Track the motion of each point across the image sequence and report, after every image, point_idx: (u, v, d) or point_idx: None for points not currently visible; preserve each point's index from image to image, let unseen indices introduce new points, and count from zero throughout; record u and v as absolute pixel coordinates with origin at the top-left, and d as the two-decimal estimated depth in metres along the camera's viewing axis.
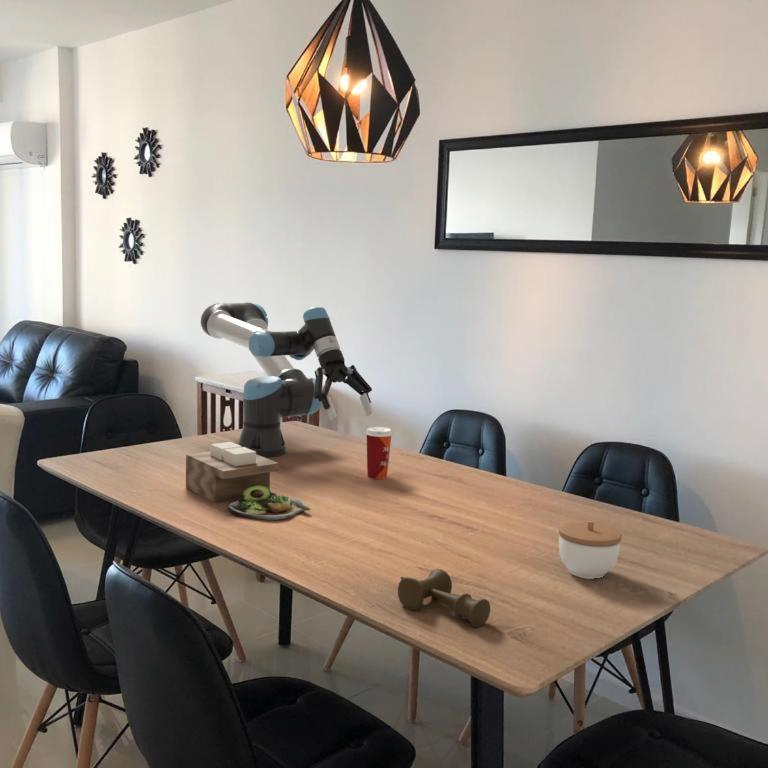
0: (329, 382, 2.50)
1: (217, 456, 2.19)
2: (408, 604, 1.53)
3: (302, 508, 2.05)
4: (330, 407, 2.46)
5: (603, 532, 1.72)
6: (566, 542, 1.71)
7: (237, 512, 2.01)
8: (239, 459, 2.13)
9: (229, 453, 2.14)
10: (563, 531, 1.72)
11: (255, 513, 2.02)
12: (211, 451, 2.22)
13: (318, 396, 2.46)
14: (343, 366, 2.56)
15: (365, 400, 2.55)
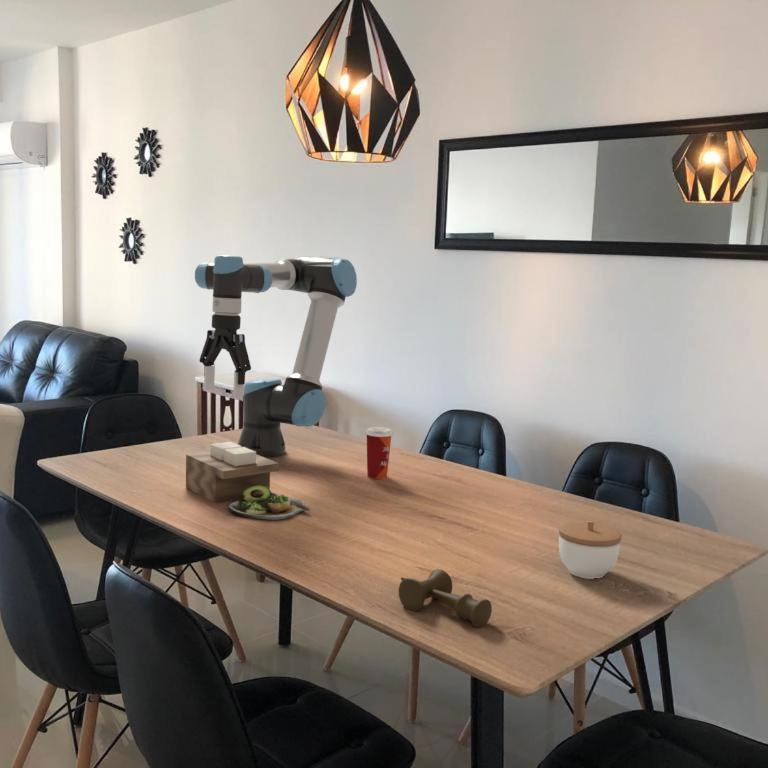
0: (211, 350, 2.27)
1: (217, 456, 2.19)
2: (409, 605, 1.53)
3: (302, 508, 2.05)
4: None
5: (603, 532, 1.72)
6: (566, 542, 1.71)
7: (237, 512, 2.01)
8: (239, 459, 2.13)
9: (229, 453, 2.14)
10: (563, 531, 1.72)
11: (255, 513, 2.02)
12: (211, 451, 2.22)
13: None
14: (228, 334, 2.22)
15: None
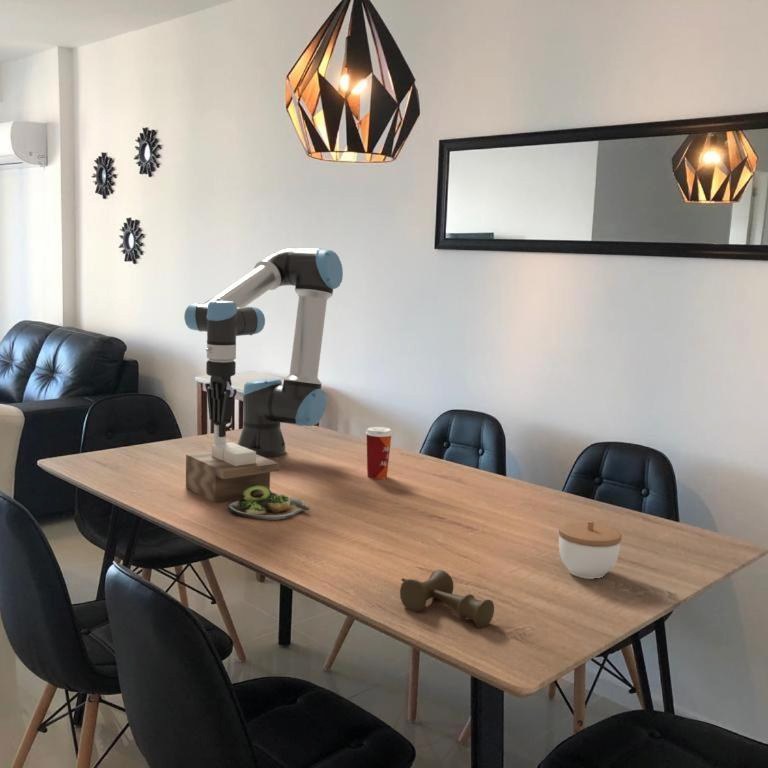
0: (213, 402, 2.22)
1: (219, 456, 2.19)
2: (411, 606, 1.52)
3: (302, 508, 2.05)
4: None
5: (603, 532, 1.72)
6: (566, 542, 1.71)
7: (237, 512, 2.01)
8: (239, 459, 2.13)
9: (229, 453, 2.14)
10: (563, 531, 1.72)
11: (255, 513, 2.02)
12: (212, 452, 2.21)
13: None
14: (222, 380, 2.18)
15: None
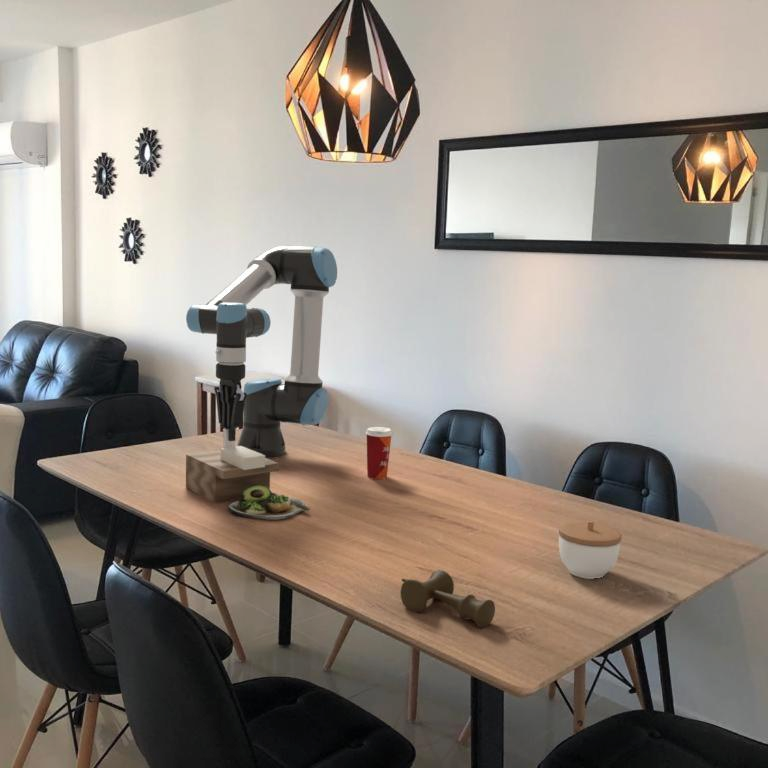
0: (223, 406, 2.19)
1: (228, 460, 2.15)
2: (412, 606, 1.52)
3: (302, 508, 2.05)
4: None
5: (603, 532, 1.72)
6: (566, 542, 1.71)
7: (237, 512, 2.01)
8: (248, 463, 2.10)
9: (238, 457, 2.11)
10: (563, 531, 1.72)
11: (255, 513, 2.02)
12: (221, 455, 2.18)
13: None
14: (232, 384, 2.14)
15: None
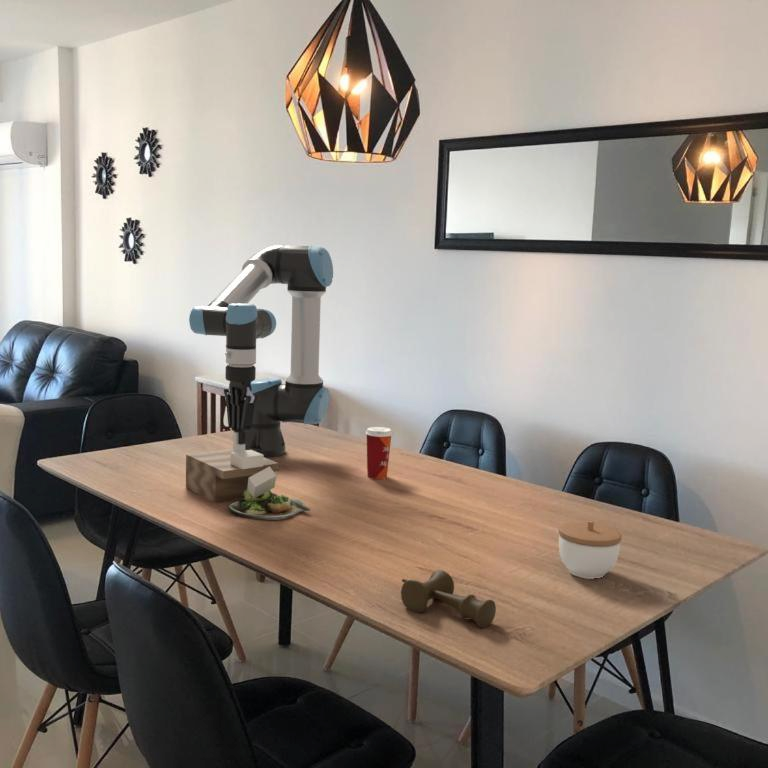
0: (232, 408, 2.15)
1: (238, 465, 2.11)
2: (412, 607, 1.52)
3: (302, 508, 2.05)
4: None
5: (603, 532, 1.72)
6: (566, 542, 1.71)
7: (237, 512, 2.01)
8: None
9: (253, 491, 2.04)
10: (563, 531, 1.72)
11: (255, 513, 2.02)
12: (231, 460, 2.14)
13: None
14: (242, 386, 2.10)
15: None
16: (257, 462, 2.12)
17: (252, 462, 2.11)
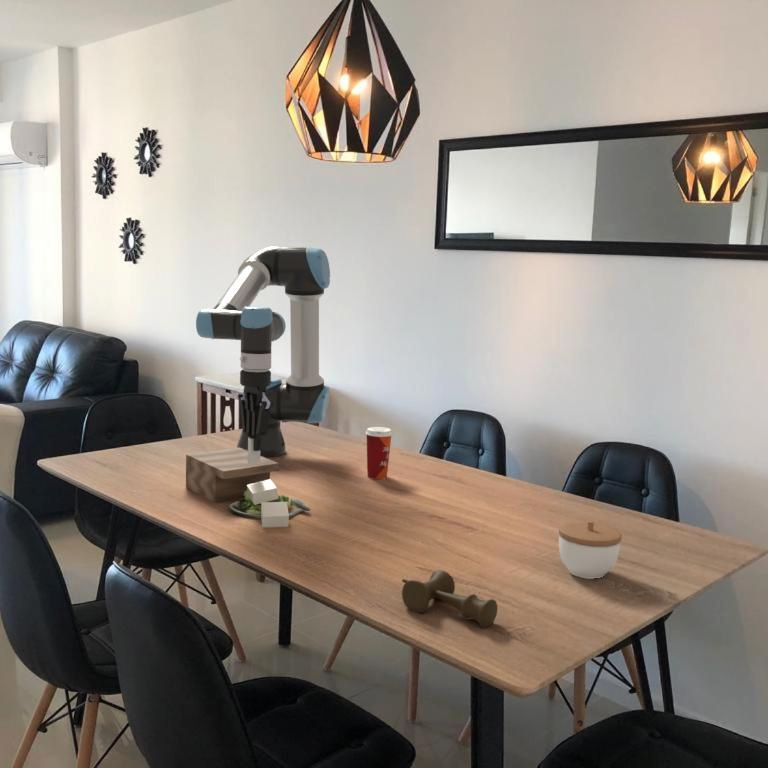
0: (247, 414, 2.10)
1: (248, 489, 2.05)
2: (414, 607, 1.52)
3: (302, 508, 2.06)
4: None
5: (603, 532, 1.72)
6: (566, 542, 1.71)
7: (237, 512, 2.02)
8: (267, 521, 1.94)
9: (261, 510, 1.96)
10: (563, 531, 1.72)
11: (255, 513, 2.03)
12: (252, 497, 2.02)
13: None
14: (258, 391, 2.05)
15: None
16: None
17: None
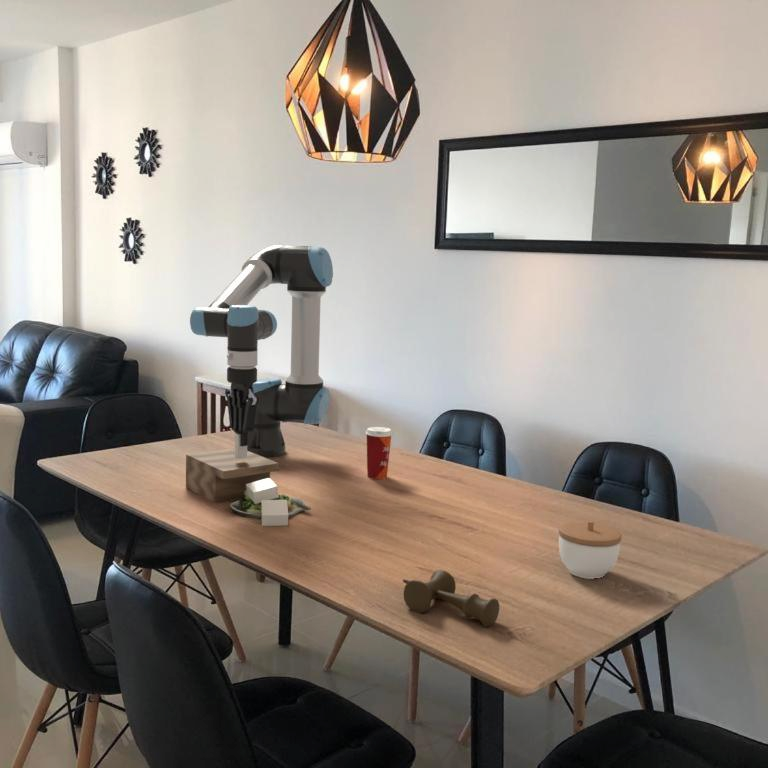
0: (234, 410, 2.15)
1: (248, 489, 2.06)
2: (415, 607, 1.52)
3: (302, 508, 2.06)
4: None
5: (603, 532, 1.72)
6: (566, 542, 1.71)
7: (238, 511, 2.02)
8: (267, 520, 1.95)
9: (261, 509, 1.97)
10: (563, 531, 1.72)
11: (256, 512, 2.03)
12: (253, 496, 2.03)
13: None
14: (244, 388, 2.10)
15: None
16: None
17: None
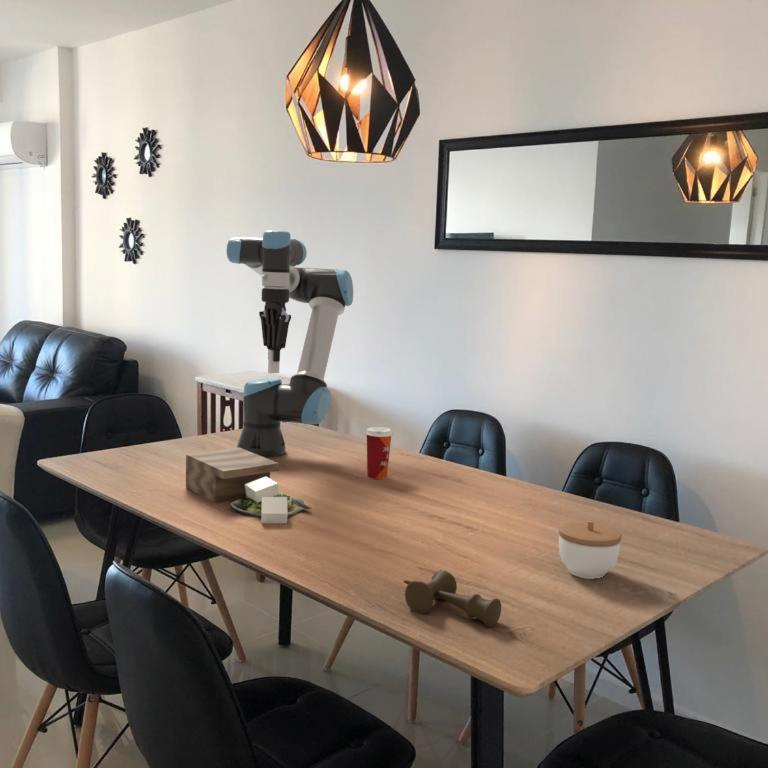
0: (268, 328, 2.33)
1: (248, 488, 2.07)
2: (417, 608, 1.52)
3: (303, 507, 2.07)
4: None
5: (603, 532, 1.72)
6: (566, 542, 1.71)
7: (238, 510, 2.03)
8: (266, 518, 1.96)
9: (261, 506, 1.98)
10: (563, 531, 1.72)
11: (256, 512, 2.04)
12: (255, 495, 2.04)
13: None
14: (278, 306, 2.29)
15: None
16: None
17: None
